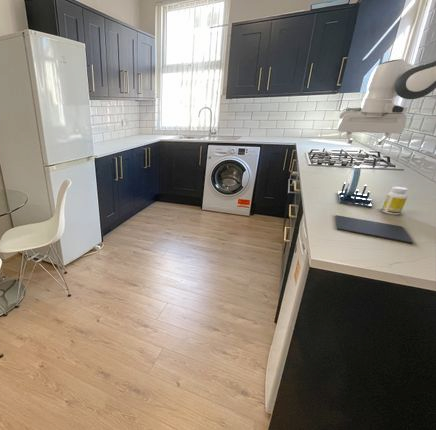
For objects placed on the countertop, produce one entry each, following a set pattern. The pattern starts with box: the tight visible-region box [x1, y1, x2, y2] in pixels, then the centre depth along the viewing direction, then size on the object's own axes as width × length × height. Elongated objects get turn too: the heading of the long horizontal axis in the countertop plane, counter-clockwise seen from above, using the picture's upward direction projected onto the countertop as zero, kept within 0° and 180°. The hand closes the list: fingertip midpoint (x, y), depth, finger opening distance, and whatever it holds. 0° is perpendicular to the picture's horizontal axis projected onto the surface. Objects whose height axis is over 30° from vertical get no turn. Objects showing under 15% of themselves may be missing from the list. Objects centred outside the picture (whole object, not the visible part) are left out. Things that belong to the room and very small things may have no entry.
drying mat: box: [335, 214, 413, 245], centre depth 93 cm, size 18×14×1 cm
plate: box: [344, 165, 362, 197], centre depth 118 cm, size 2×13×13 cm, turn 146°
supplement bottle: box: [381, 186, 409, 216], centre depth 105 cm, size 5×5×10 cm
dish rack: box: [337, 182, 372, 209], centre depth 119 cm, size 10×16×6 cm, turn 145°
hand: (363, 144), depth 113 cm, fingers open, 8 cm apart
